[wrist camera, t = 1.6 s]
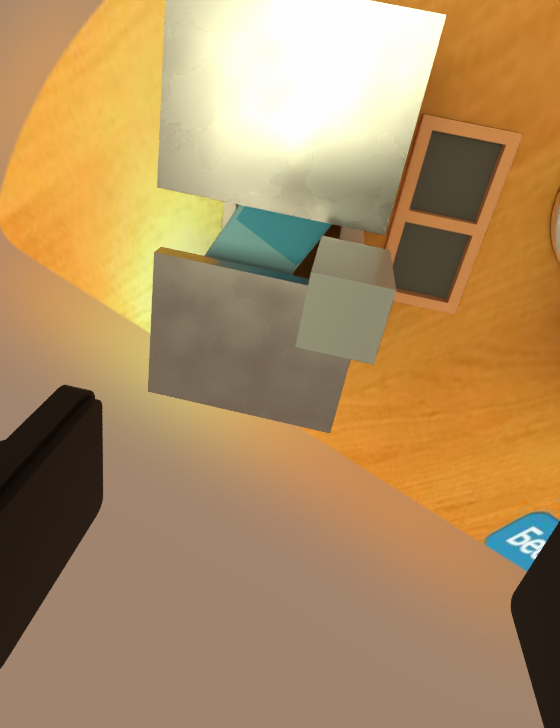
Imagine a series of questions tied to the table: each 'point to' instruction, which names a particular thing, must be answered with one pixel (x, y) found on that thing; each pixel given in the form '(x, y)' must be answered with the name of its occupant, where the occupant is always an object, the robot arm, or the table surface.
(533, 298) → the table surface
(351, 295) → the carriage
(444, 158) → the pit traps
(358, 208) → the tunnel
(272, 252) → the data package
